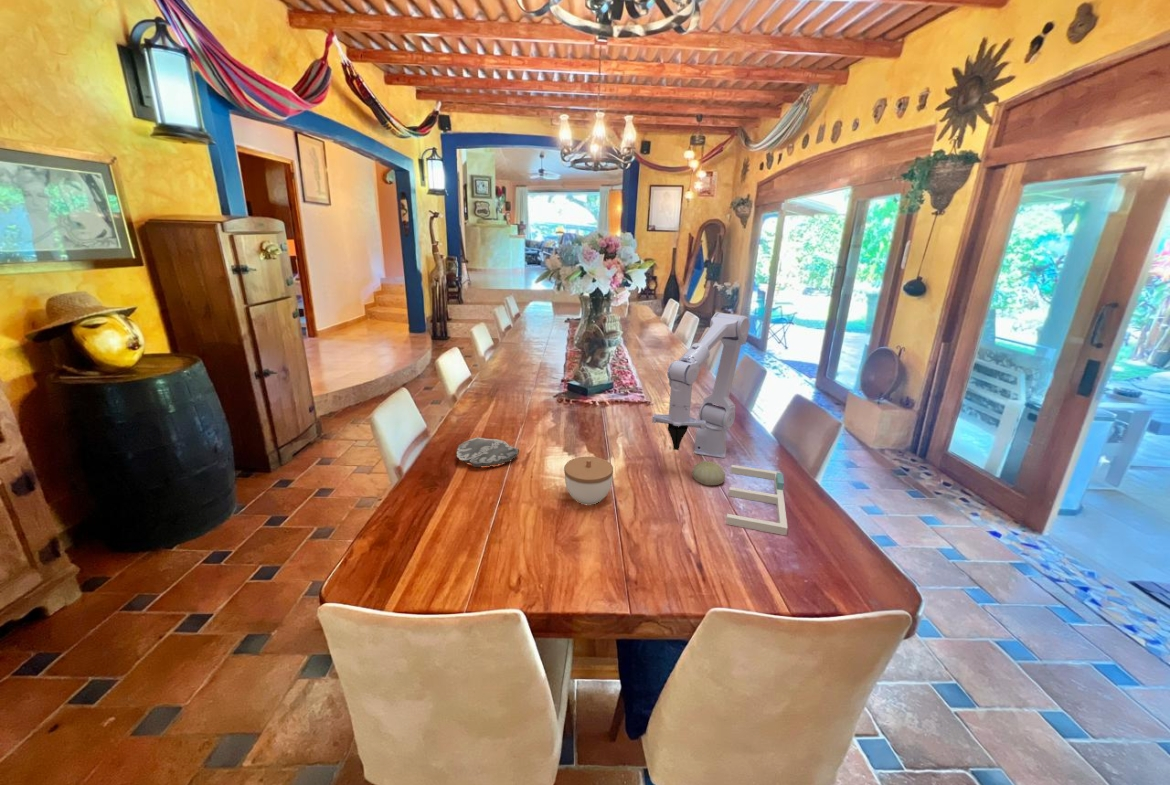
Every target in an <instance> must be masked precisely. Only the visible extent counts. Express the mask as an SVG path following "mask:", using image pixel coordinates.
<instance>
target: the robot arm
mask: <svg viewBox="0 0 1170 785" xmlns="http://www.w3.org/2000/svg"><path fill="white" fill-rule="evenodd" d="M750 326H751V324H750V320H749V318H748V316H747V315H738V314H731V313H723V312H721V311H720V312H719V311H718V312H715V313H714V315H713V316H712V317H711V318H710V322H709V329H707V331H706V332H705V333H704V334H705V335H704V336H702V338H701V339H700V341H699V342H695V343H693V344H691V346H690V347H689V348H688V350H686V351H685V353H684V354H682V356H681V357H680V358H679V360H675V361H672V362H671V363H670V364H669V366H668V369H667V371H666V376H667V379H668V385H669V387H670V393H669V394H670V395H669V407H668V414H657V413H656V414H655V413H654V414H653V415H652V418H651V419H652V420H651V421H652V422H651V423H652V424H665V425H666V424H667V425H668V426H667V431H668V433H669V435H670V438H671V441H672V446H673V448H672V449H673V450H674V451H679V449H680V445H681V442H682V440H683V438H684V436H685V434H686V433H687V431H688V428H694V429H696V432H695V440H694V451H693V452H694V454H696V455H701V456H709V457H714V458H722V459H725V458H726V455H727V446H726V442H727V432H728V430H729V429H730V428H731V427H732V426H733V425H734V422H735V418H736V404H735V403H734V402H733V401H732V399H730V394H731V389H732V386H733V382H734V377H735V372H736V369H737V365H738V359H739V356H740V353H741V352H740V351H741V348H742V345H745V344H746V342H747V339H748V335H749V331H750V328H751V327H750ZM720 341H721V344H723V346H722V351H721V356H720V360H719V365H718V369H717V373H716V377H715V381H714V386H713V390H712V394H710V395H709V396H707V397H705V398H704V399H703V402H702V403H701V406H700V408H699V412H698V418H699V419H698V418H694V417H691V415H690V414H691V406H692V405H691V403H692V392H693V384H694V383H695V382H696V381H697V378H698V377H699V376H698V375H699V373H700V371H701V368H702V366H703V365H704V364H705V363H706V361H707V360H708V359H709V358H710V351H711V349H713V348H714V346H716V345H717V344H718V343H719V342H720Z"/></svg>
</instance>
